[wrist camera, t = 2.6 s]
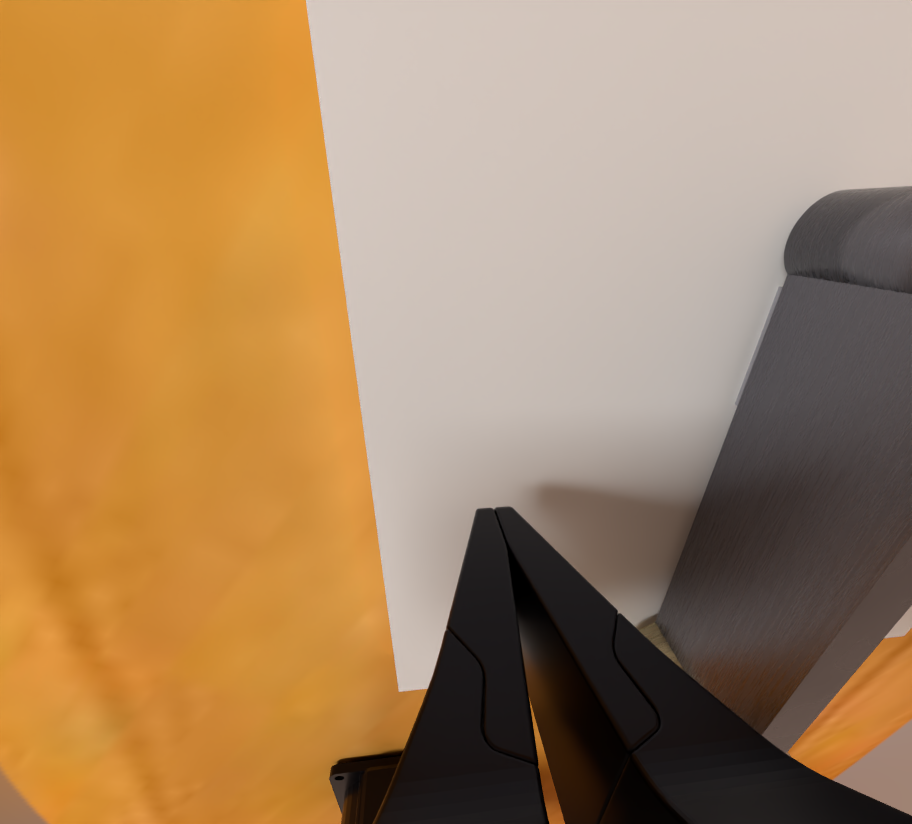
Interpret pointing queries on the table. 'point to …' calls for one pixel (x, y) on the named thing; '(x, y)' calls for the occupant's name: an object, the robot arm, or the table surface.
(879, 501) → the pointer
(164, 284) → the table surface
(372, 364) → the dial board
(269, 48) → the table surface
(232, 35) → the table surface
